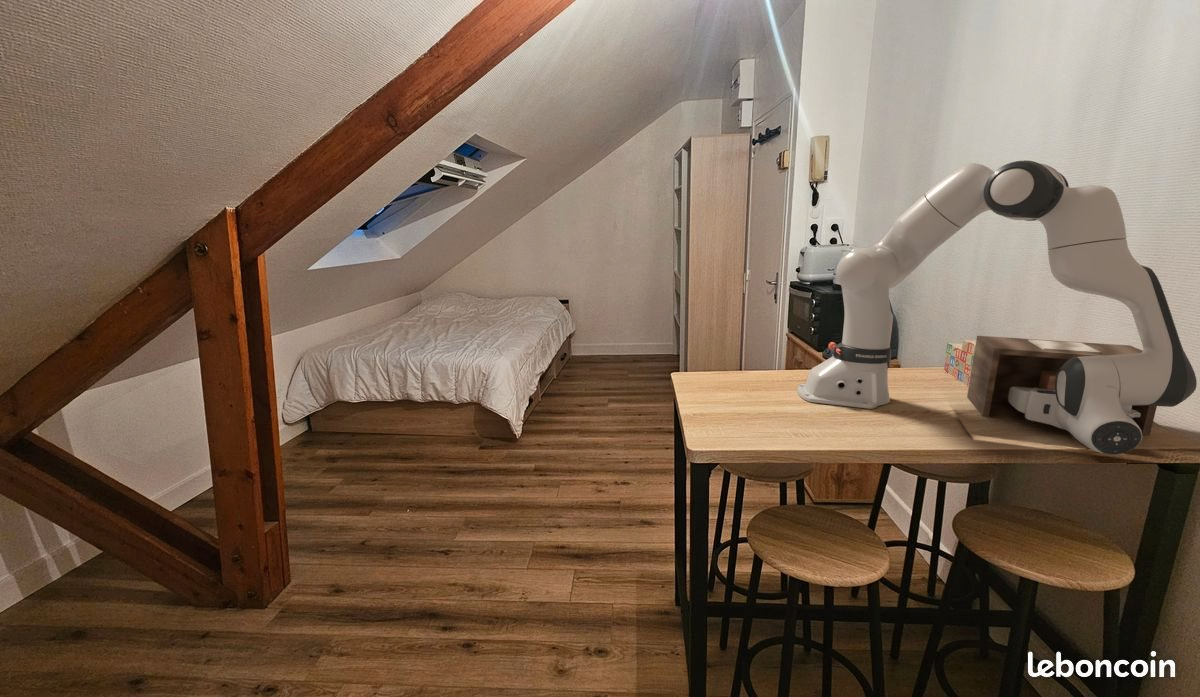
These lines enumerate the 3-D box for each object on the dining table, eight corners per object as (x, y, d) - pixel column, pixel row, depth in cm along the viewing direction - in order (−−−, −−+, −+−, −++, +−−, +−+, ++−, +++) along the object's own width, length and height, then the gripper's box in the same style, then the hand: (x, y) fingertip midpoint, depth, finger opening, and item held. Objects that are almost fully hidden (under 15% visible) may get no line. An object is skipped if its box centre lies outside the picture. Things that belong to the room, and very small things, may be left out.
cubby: (981, 420, 122) (994, 347, 118) (966, 400, 136) (977, 334, 132) (1148, 439, 111) (1168, 359, 107) (1113, 416, 124) (1130, 344, 120)
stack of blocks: (942, 371, 163) (948, 333, 160) (965, 372, 162) (971, 333, 159) (977, 393, 142) (984, 348, 140) (1003, 394, 141) (1011, 349, 139)
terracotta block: (1041, 417, 121) (1049, 376, 118) (1033, 410, 125) (1041, 370, 123) (1068, 420, 119) (1077, 378, 117) (1060, 413, 123) (1068, 372, 121)
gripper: (1149, 402, 104) (1115, 384, 117) (1023, 390, 112) (1003, 374, 125) (1141, 432, 106) (1108, 410, 118) (1017, 418, 114) (999, 399, 126)
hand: (1054, 392), depth 122 cm, fingers closed on terracotta block, 5 cm apart
